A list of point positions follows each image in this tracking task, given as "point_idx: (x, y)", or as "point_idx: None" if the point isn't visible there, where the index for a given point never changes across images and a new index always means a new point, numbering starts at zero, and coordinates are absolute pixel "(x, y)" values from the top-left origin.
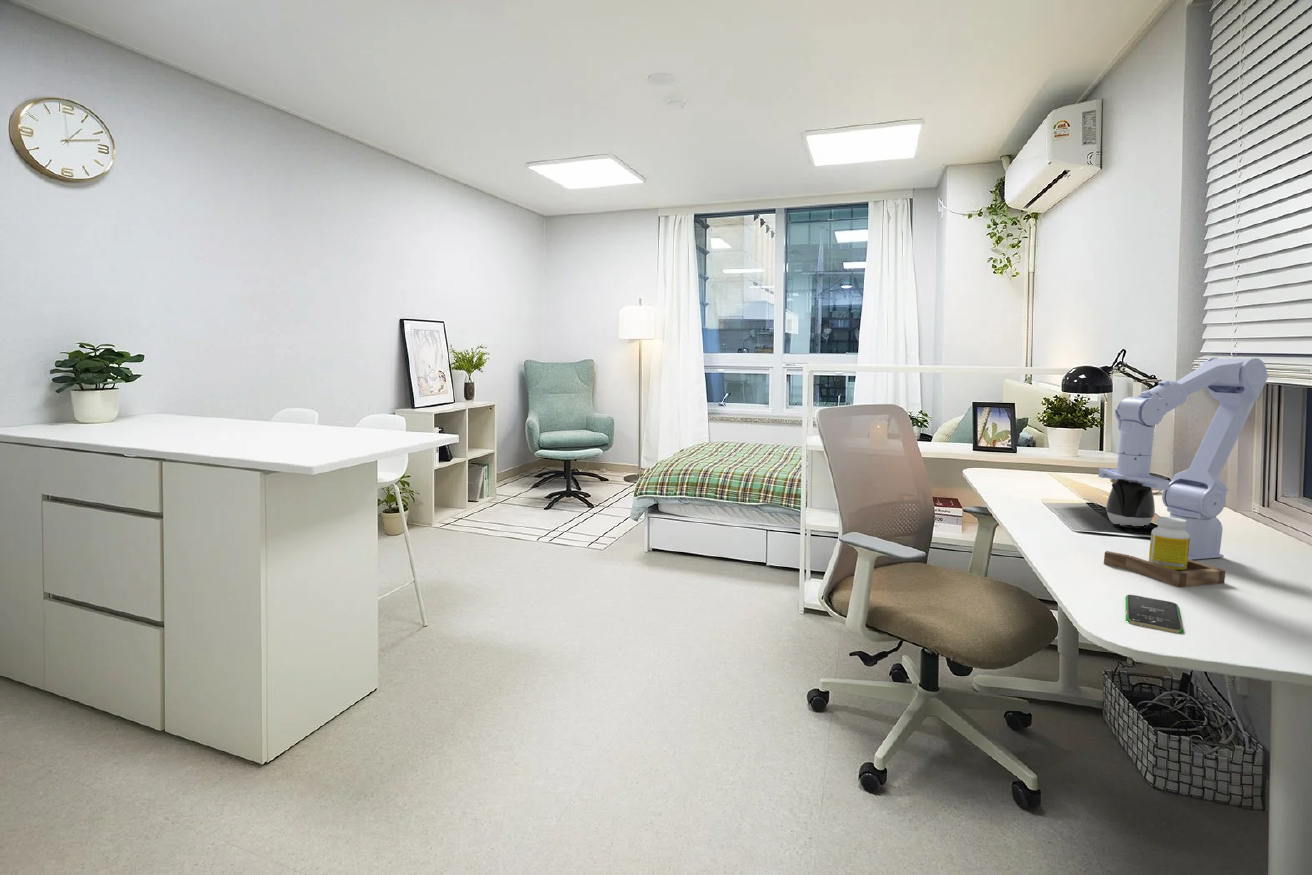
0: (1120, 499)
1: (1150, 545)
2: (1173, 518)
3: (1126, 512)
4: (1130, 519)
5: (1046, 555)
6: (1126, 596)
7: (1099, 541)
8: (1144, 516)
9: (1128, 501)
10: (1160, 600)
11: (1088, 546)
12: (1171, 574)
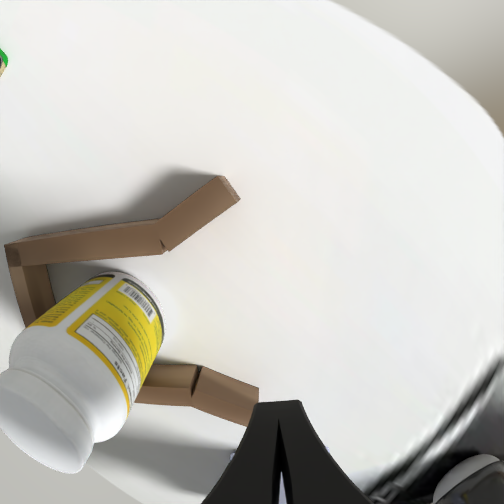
0: (321, 485)
1: (107, 315)
2: (51, 455)
3: (254, 419)
4: (456, 480)
5: (345, 47)
6: (2, 54)
7: (437, 365)
8: (439, 501)
9: (223, 490)
10: None
11: (417, 294)
12: (25, 240)
